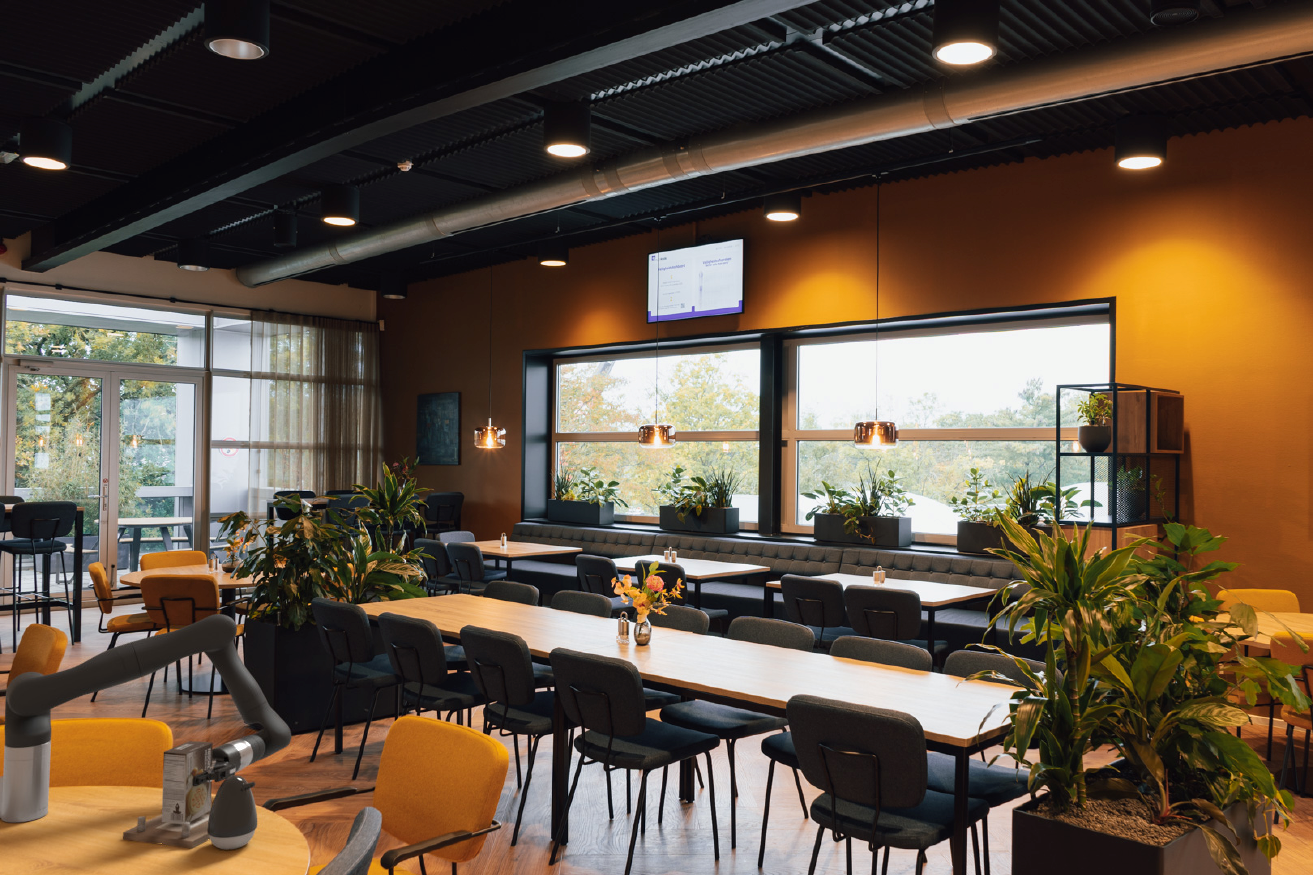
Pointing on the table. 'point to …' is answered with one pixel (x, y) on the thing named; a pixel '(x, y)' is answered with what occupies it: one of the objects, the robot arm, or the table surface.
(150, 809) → the table surface
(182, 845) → the peg stand
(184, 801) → the coffee box
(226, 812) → the pump dispenser
